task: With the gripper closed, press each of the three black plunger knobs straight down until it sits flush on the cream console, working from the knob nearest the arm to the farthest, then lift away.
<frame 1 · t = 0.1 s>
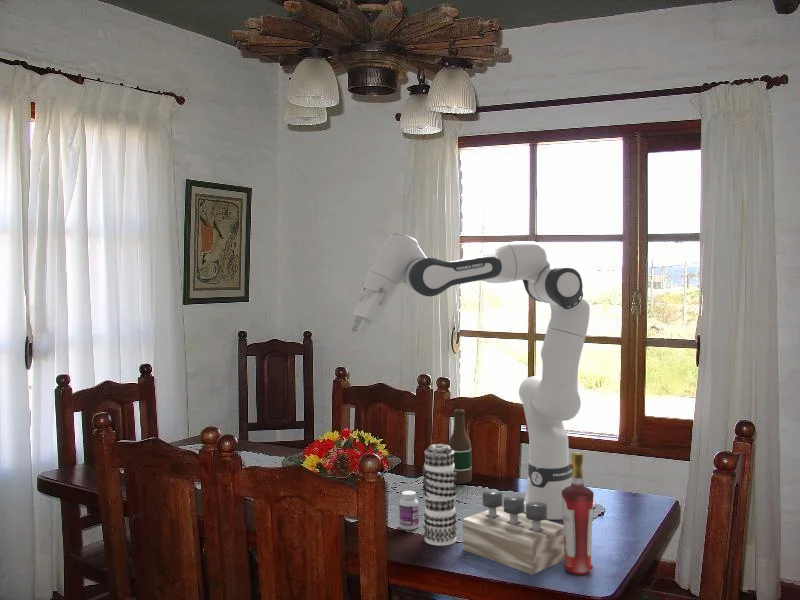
hand: (356, 333, 207), 54 cm above the table, tool tilted 30°, fingers open, 8 cm apart
knob a: (492, 508, 197), point 10 cm above the table, slide at 0.0 cm
decorative candle: (440, 540, 203), on the table
knob c: (536, 521, 187), point 10 cm above the table, slide at 0.0 cm
beer bottle: (460, 481, 257), on the table
pill bottle: (409, 527, 213), on the table
chess piece: (582, 542, 200), on the table
knob b: (513, 514, 192), point 10 cm above the table, slide at 0.0 cm
liquor: (578, 572, 181), on the table
console: (514, 554, 193), on the table
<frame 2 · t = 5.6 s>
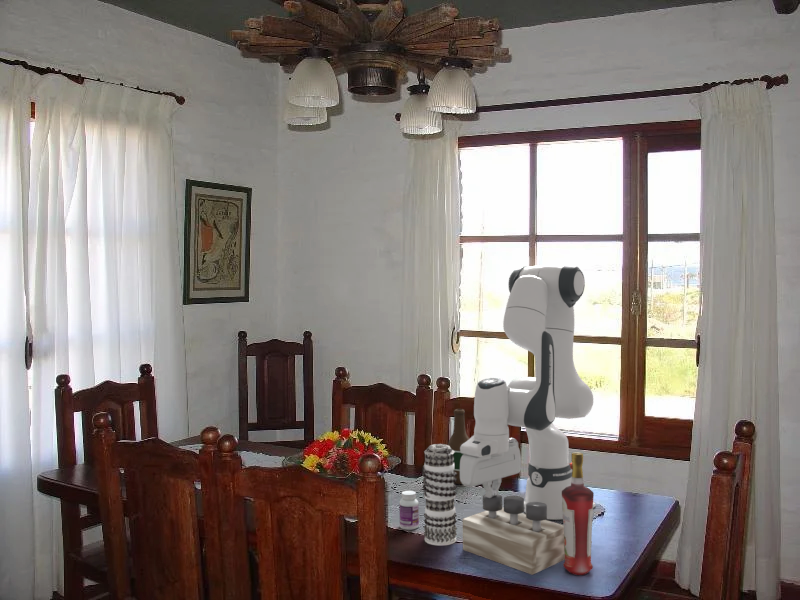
hand: (491, 496, 197), 13 cm above the table, tool pointing down, fingers closed, pressing on knob a
knob a: (492, 511, 197), point 9 cm above the table, slide at 1.0 cm, touching gripper
everything else where it was.
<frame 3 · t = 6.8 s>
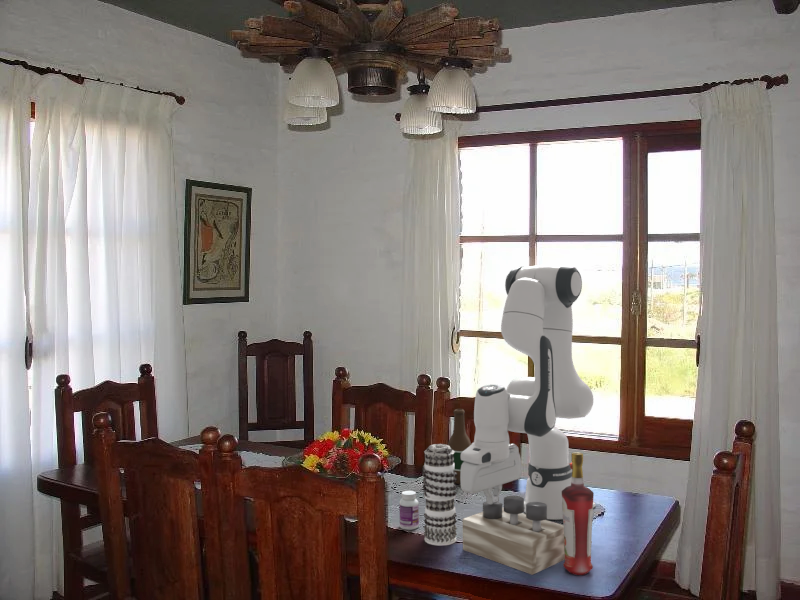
hand: (492, 502, 197), 11 cm above the table, tool pointing down, fingers closed
knob a: (492, 519, 197), point 7 cm above the table, slide at 3.0 cm
everything else where it was.
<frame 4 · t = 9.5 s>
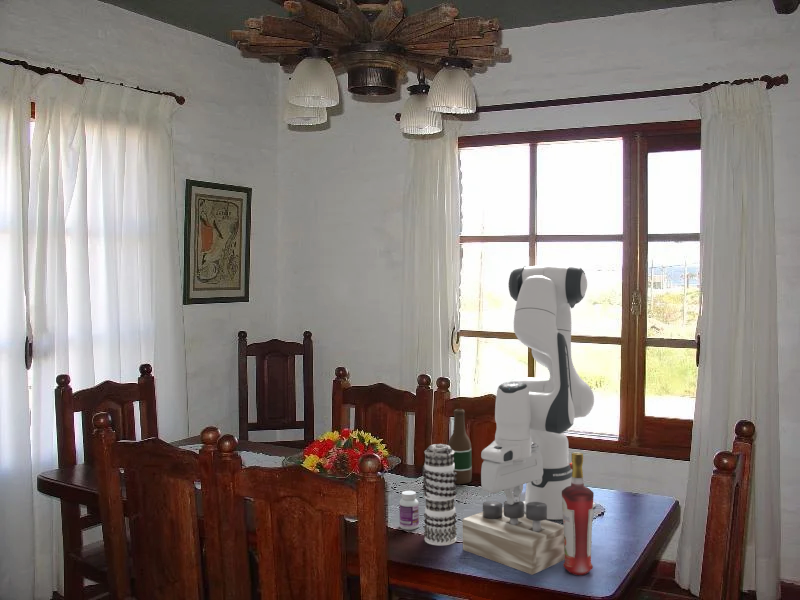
hand: (513, 503, 192), 13 cm above the table, tool pointing down, fingers closed, pressing on knob b
knob b: (514, 519, 192), point 9 cm above the table, slide at 1.1 cm, touching gripper
everything else where it was.
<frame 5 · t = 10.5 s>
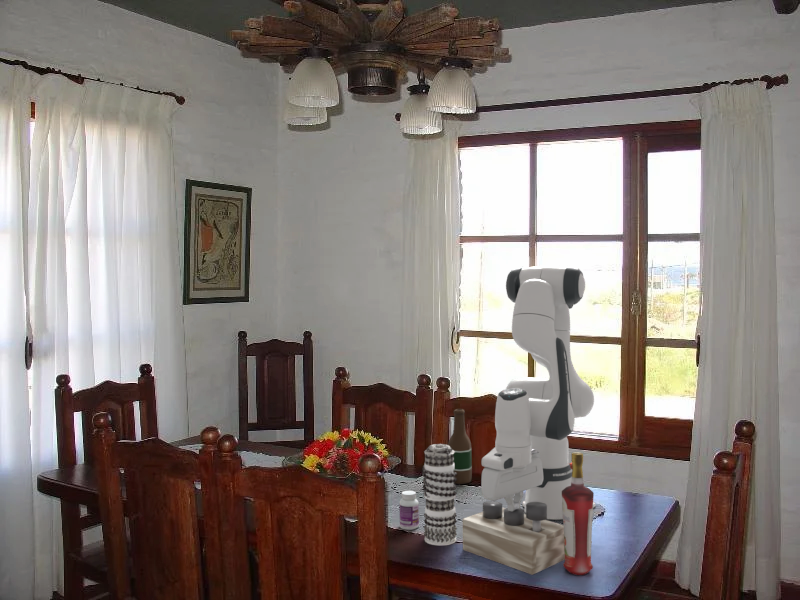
hand: (513, 509, 192), 11 cm above the table, tool pointing down, fingers closed
knob b: (514, 526, 192), point 7 cm above the table, slide at 3.0 cm
everything else where it was.
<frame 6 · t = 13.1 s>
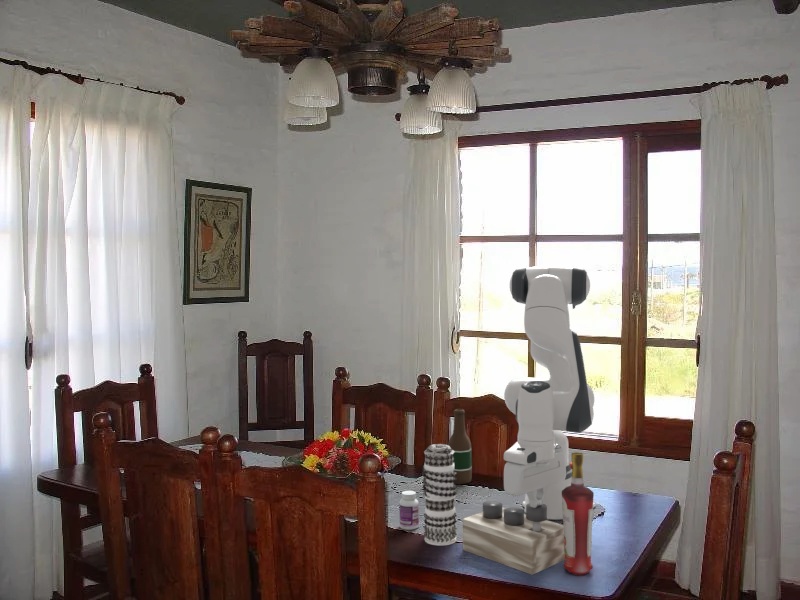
hand: (536, 506, 186), 14 cm above the table, tool pointing down, fingers closed, pressing on knob c
knob c: (536, 522, 187), point 10 cm above the table, slide at 0.2 cm, touching gripper
everything else where it was.
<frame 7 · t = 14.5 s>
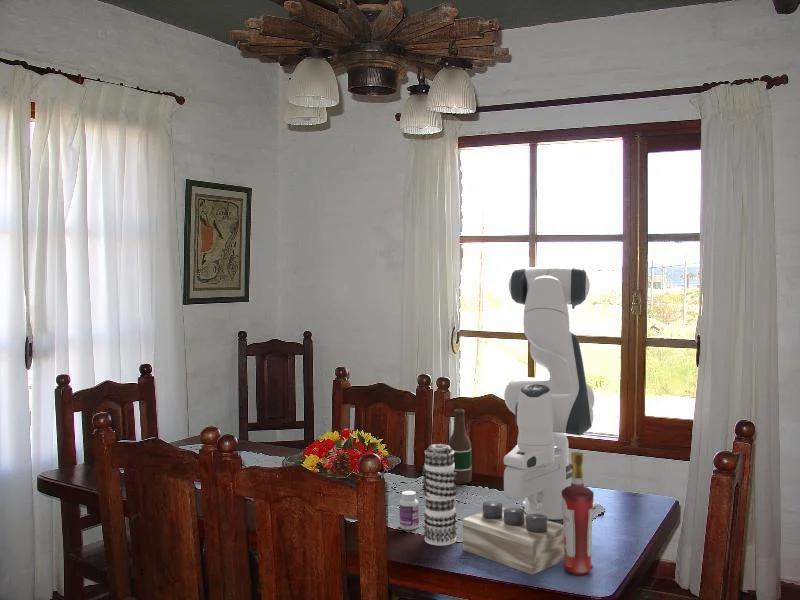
hand: (536, 509, 187), 13 cm above the table, tool pointing down, fingers closed
knob c: (536, 533, 187), point 7 cm above the table, slide at 3.0 cm
everything else where it was.
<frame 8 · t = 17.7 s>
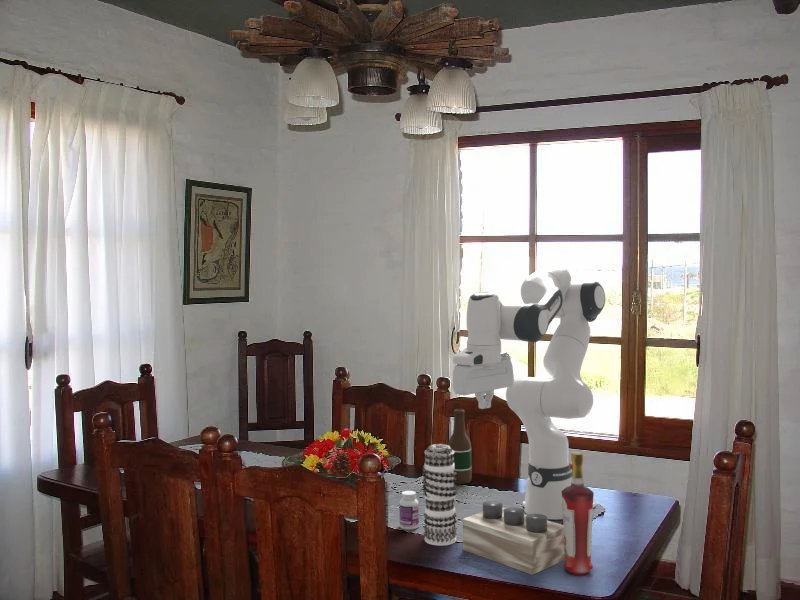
hand: (484, 408, 200), 35 cm above the table, tool pointing down, fingers closed
nothing on the table moved.
at the end: knob a slide at 3.0 cm; knob b slide at 3.0 cm; knob c slide at 3.0 cm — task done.
